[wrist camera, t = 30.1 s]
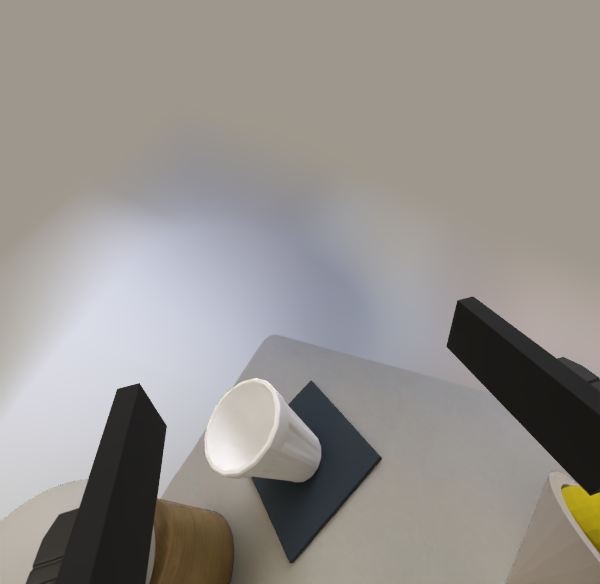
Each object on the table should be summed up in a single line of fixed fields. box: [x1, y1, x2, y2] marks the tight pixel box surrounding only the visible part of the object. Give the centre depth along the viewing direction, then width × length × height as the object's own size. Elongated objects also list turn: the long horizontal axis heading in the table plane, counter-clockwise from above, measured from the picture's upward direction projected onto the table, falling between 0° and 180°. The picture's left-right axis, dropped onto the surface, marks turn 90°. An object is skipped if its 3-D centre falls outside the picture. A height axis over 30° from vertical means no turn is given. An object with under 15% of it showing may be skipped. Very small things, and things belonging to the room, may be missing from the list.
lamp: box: [0, 479, 234, 584], centre depth 29 cm, size 15×14×25 cm
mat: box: [252, 381, 381, 563], centre depth 39 cm, size 15×15×1 cm
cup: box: [205, 378, 321, 482], centre depth 35 cm, size 10×10×13 cm
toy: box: [506, 472, 600, 584], centre depth 21 cm, size 9×9×15 cm
